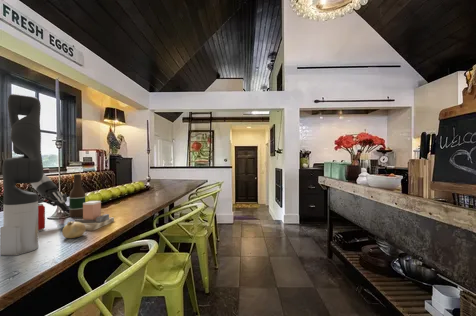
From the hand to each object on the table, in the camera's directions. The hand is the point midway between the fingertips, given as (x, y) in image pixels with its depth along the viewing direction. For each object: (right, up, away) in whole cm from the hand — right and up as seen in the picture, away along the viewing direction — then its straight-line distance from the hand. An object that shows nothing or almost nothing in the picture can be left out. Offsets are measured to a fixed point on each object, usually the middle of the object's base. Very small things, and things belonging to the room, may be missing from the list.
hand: (66, 209), depth 118 cm
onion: (+17, -8, -19) cm, 27 cm away
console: (+13, -7, -2) cm, 15 cm away
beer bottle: (-7, -8, +17) cm, 20 cm away
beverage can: (-6, -7, -11) cm, 15 cm away
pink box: (+13, -5, -1) cm, 14 cm away
